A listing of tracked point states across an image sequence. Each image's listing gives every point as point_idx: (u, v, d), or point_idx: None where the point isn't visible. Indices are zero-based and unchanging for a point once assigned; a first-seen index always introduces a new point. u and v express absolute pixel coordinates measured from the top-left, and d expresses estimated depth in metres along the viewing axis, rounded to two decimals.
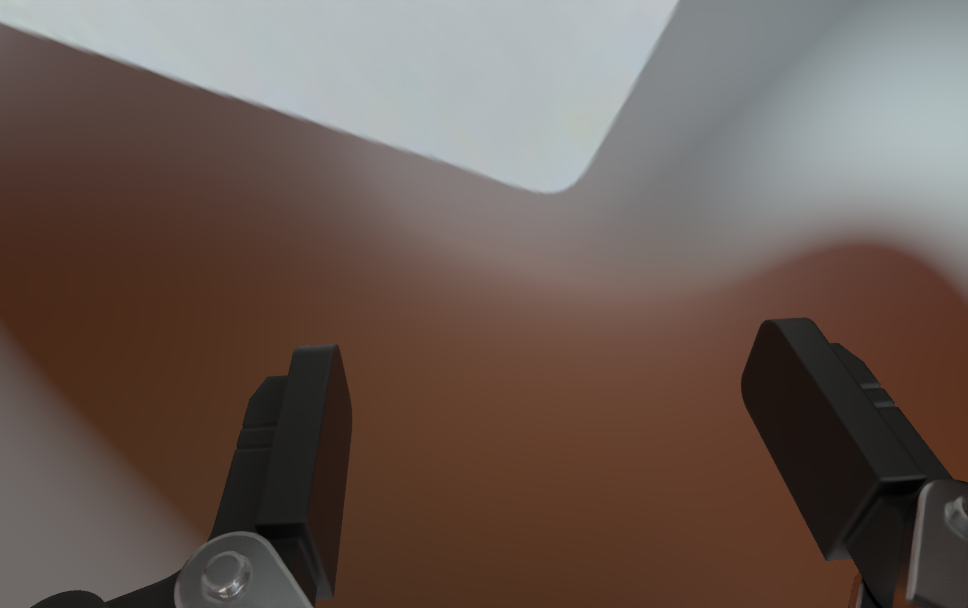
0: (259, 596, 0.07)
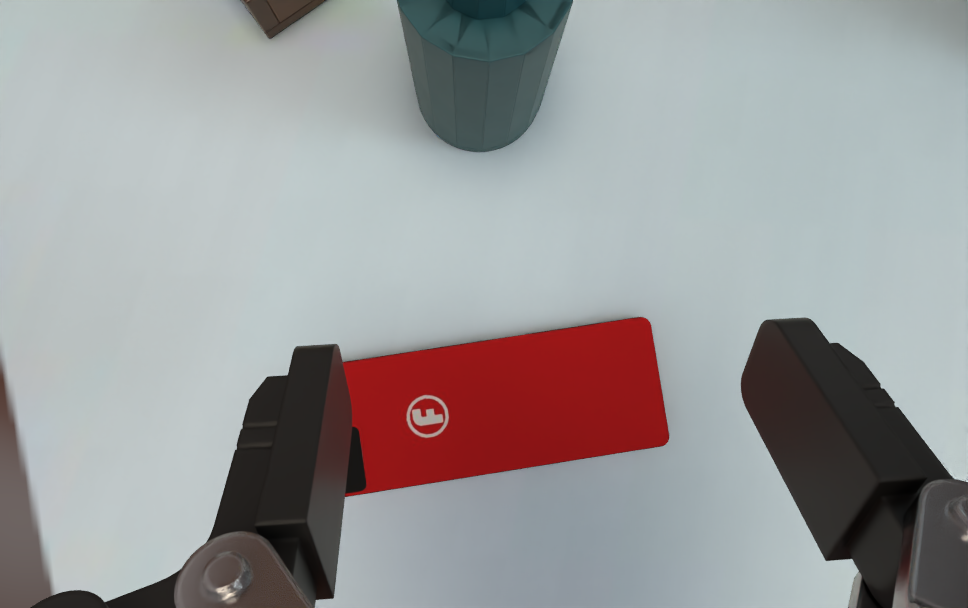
0: (259, 596, 0.07)
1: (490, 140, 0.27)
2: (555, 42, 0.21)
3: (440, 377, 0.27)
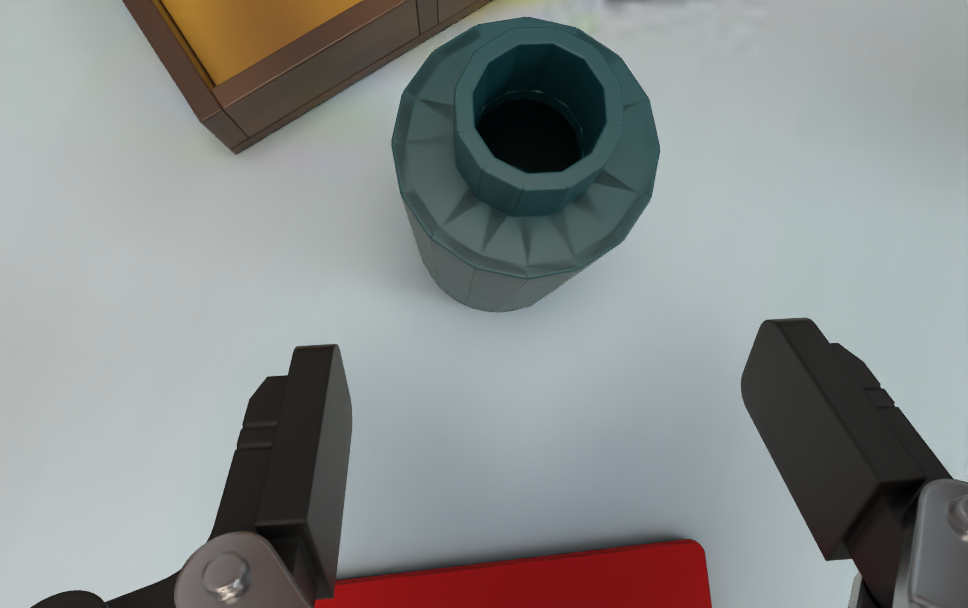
0: (259, 596, 0.07)
1: (510, 308, 0.21)
2: None
3: None
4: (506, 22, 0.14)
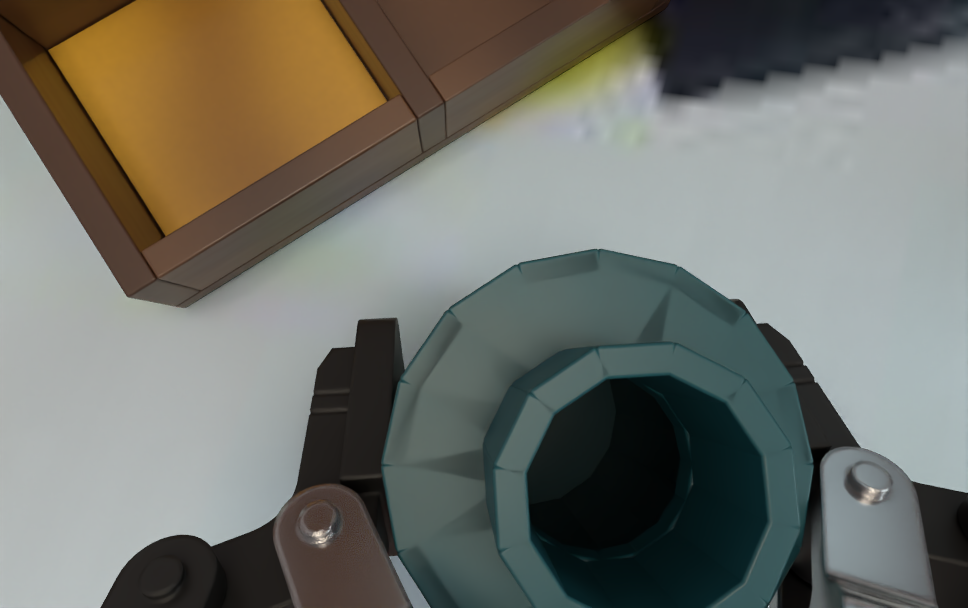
0: (353, 541, 0.08)
1: None
2: None
3: None
4: (565, 259, 0.08)
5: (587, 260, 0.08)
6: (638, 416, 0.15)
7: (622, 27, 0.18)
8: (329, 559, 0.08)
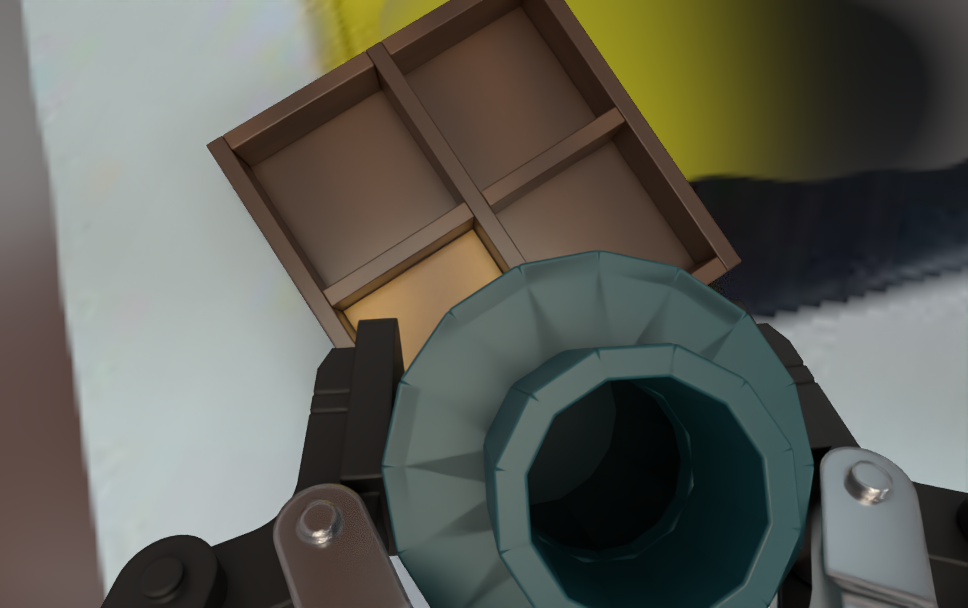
0: (353, 541, 0.08)
1: None
2: None
3: None
4: (566, 261, 0.08)
5: (587, 261, 0.08)
6: (639, 418, 0.15)
7: None
8: (329, 559, 0.08)
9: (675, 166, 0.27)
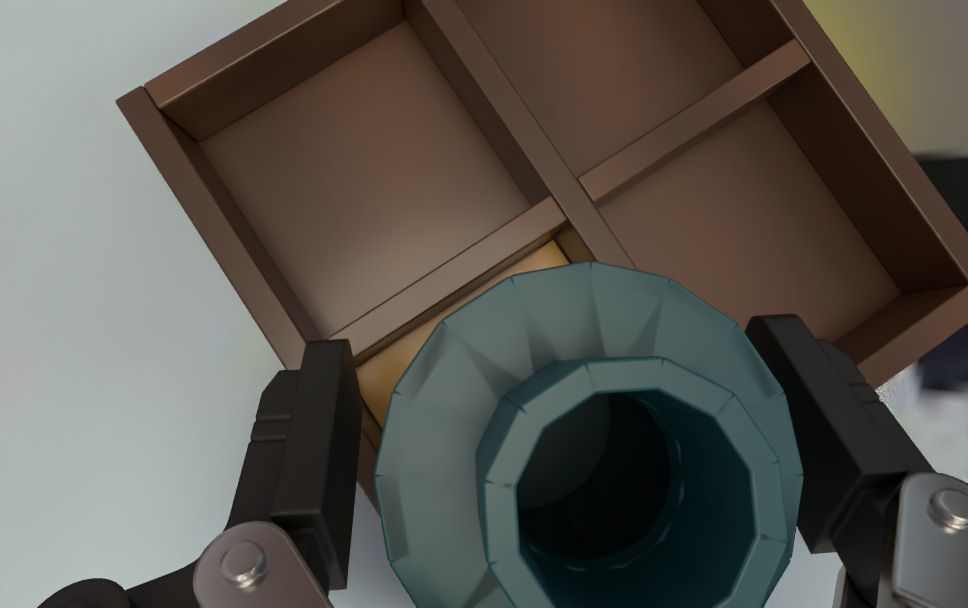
0: (277, 584, 0.07)
1: None
2: None
3: None
4: (557, 271, 0.08)
5: (579, 272, 0.08)
6: (633, 423, 0.15)
7: None
8: (257, 602, 0.07)
9: (895, 135, 0.17)
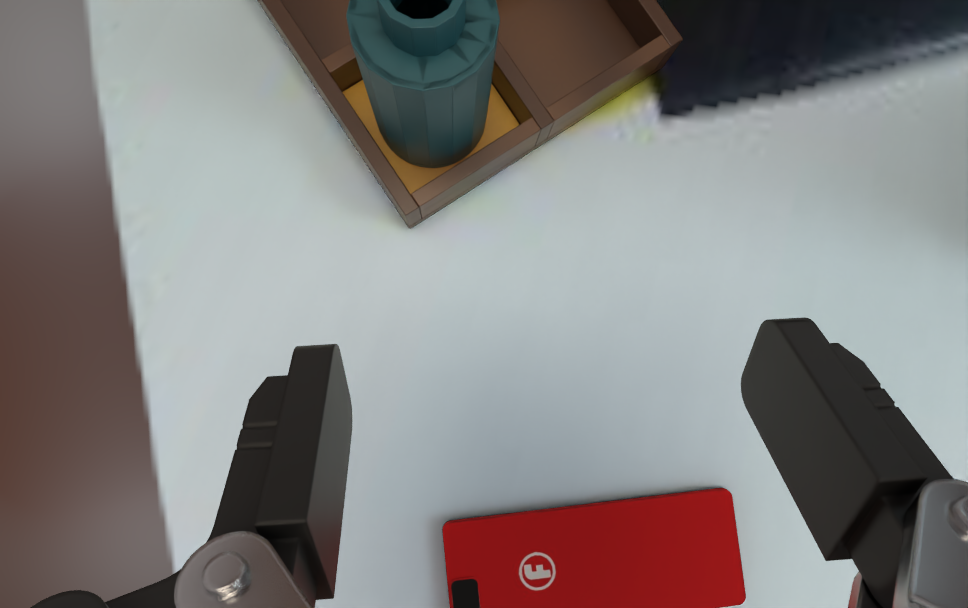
0: (259, 596, 0.07)
1: (437, 158, 0.31)
2: (483, 78, 0.25)
3: (549, 536, 0.31)
4: None
5: None
6: None
7: (639, 79, 0.34)
8: None
9: None
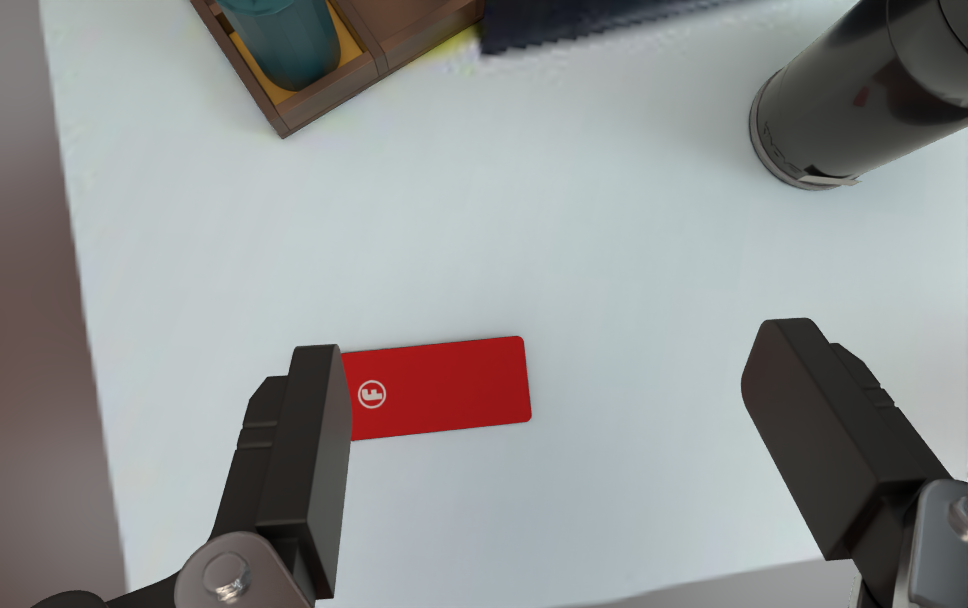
0: (259, 596, 0.07)
1: (297, 81, 0.41)
2: (305, 11, 0.35)
3: (382, 369, 0.41)
4: None
5: None
6: None
7: (461, 25, 0.44)
8: None
9: None
